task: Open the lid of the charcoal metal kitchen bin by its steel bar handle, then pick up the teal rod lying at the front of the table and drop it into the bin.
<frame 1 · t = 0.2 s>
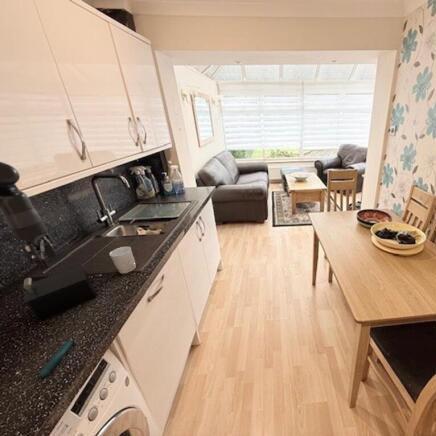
hand: (49, 262, 86), 17 cm above the countertop, tool pointing down, fingers open, 8 cm apart
teal rod: (59, 360, 70), on the countertop
bin: (69, 301, 92), on the countertop
white cup: (128, 269, 109), on the countertop
bin lid: (53, 278, 87), point 11 cm above the countertop, hinge at 0.0°
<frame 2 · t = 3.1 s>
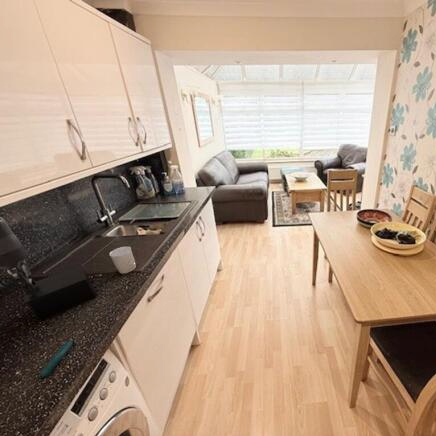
hand: (31, 289, 84), 10 cm above the countertop, tool pointing down, fingers closed on bin lid, 5 cm apart
bin lid: (53, 278, 87), point 11 cm above the countertop, hinge at 0.0°, touching gripper
everything else where it was.
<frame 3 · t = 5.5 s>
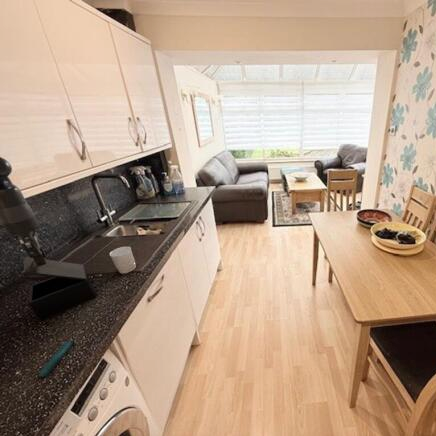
hand: (42, 261, 83), 19 cm above the countertop, tool pointing down, fingers closed on bin lid, 5 cm apart
teal rod: (59, 360, 70), on the countertop, tilted 11°
bin lid: (59, 263, 87), point 16 cm above the countertop, hinge at 40.0°, touching gripper
everything else where it was.
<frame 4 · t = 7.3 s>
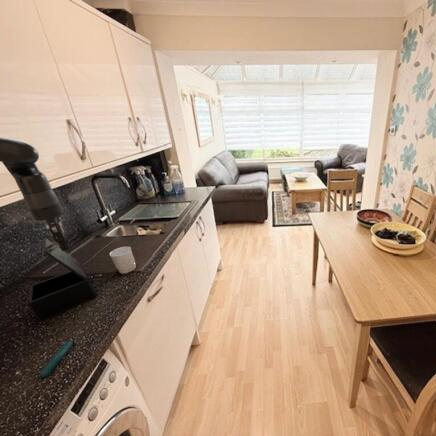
hand: (65, 246, 87), 22 cm above the countertop, tool pointing down, fingers closed on bin lid, 5 cm apart
teal rod: (59, 360, 70), on the countertop
bin lid: (71, 255, 89), point 18 cm above the countertop, hinge at 68.9°, touching gripper
everything else where it was.
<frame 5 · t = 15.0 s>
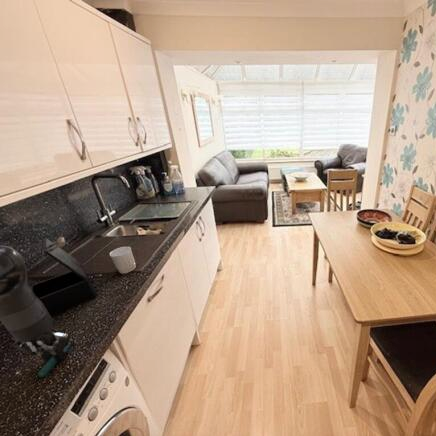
hand: (57, 360, 70), 0 cm above the countertop, tool pointing down, fingers closed on teal rod, 2 cm apart
teal rod: (59, 360, 70), on the countertop, tilted 28°, touching gripper
bin lid: (71, 255, 89), point 18 cm above the countertop, hinge at 69.4°
everything else where it was.
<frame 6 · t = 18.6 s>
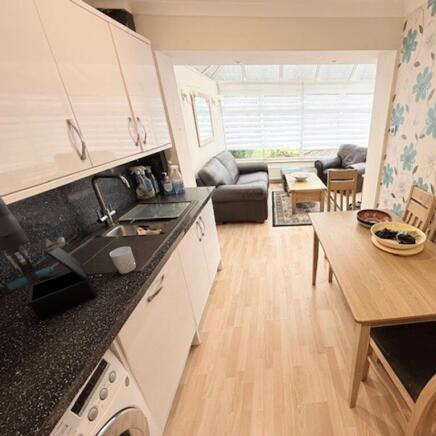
hand: (33, 279, 74), 19 cm above the countertop, tool pointing down, fingers closed on teal rod
teal rod: (33, 280, 74), point 19 cm above the countertop, tilted 29°, touching gripper
everything else where it was.
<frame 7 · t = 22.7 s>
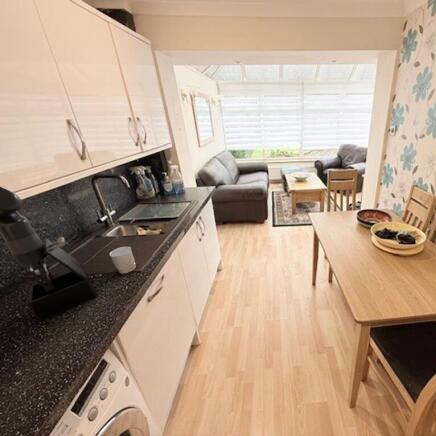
hand: (50, 285, 87), 9 cm above the countertop, tool pointing down, fingers open, 7 cm apart
teal rod: (62, 302, 90), point 1 cm above the countertop, tilted 29°, touching bin
everything else where it was.
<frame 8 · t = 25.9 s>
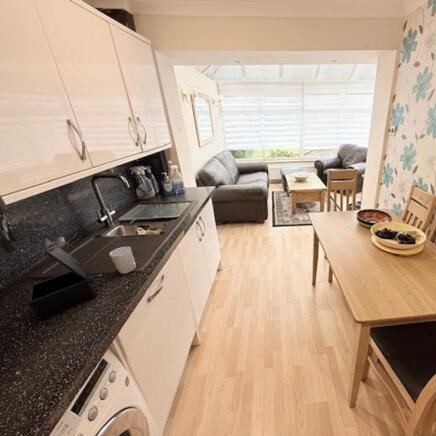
hand: (12, 246, 75), 28 cm above the countertop, tool pointing down, fingers open, 8 cm apart
nothing on the countertop moved.
at the end: bin lid at +69° (first picture: +0°); teal rod inside the target area in the bin (1.8 cm from its centre), point 0.9 cm above the bin's base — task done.
